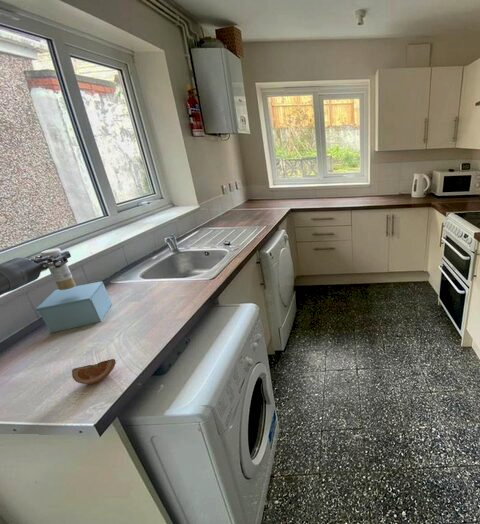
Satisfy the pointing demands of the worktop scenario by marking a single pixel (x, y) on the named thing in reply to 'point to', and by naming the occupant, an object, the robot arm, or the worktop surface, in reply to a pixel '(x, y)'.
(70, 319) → the chest
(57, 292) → the lid
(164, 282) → the worktop surface
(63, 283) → the sprinkles bottle
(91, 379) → the fruit slice
